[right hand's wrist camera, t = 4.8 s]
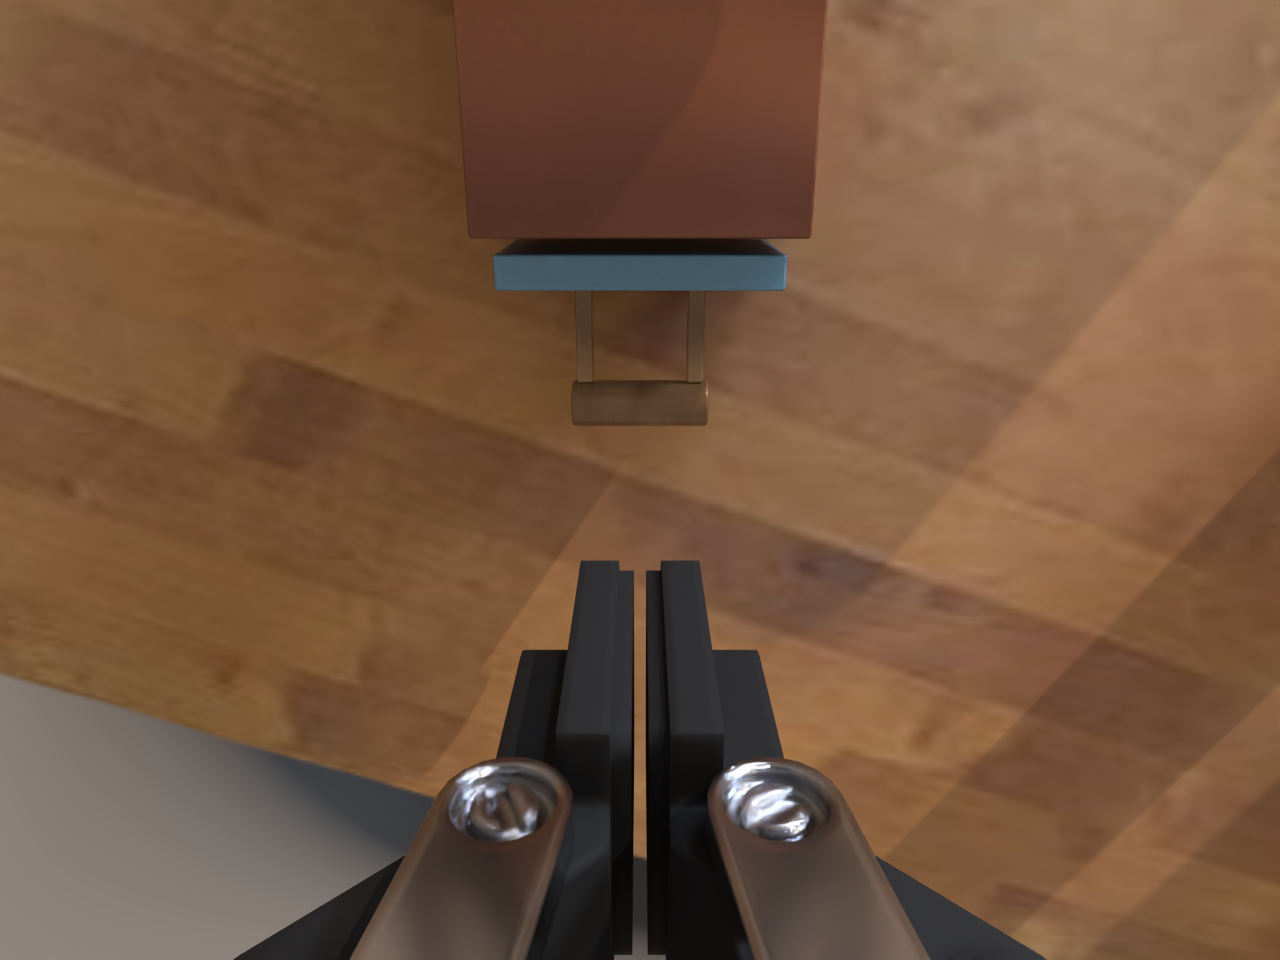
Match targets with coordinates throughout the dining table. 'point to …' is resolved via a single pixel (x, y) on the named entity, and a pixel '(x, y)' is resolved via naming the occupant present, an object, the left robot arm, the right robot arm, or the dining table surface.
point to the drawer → (640, 270)
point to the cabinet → (640, 117)
